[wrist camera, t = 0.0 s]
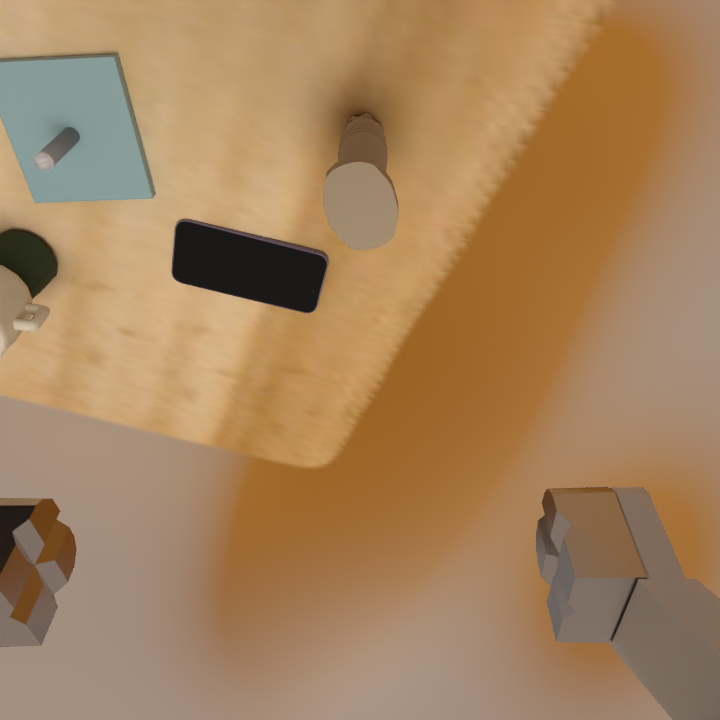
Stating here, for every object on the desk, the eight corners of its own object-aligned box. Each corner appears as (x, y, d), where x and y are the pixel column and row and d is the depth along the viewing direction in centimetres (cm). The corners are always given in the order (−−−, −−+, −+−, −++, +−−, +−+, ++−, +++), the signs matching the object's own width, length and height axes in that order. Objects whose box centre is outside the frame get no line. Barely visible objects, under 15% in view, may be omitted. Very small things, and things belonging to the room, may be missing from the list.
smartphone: (175, 217, 59) (330, 256, 61) (179, 212, 60) (331, 250, 62) (170, 281, 64) (314, 316, 66) (173, 275, 65) (315, 309, 67)
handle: (347, 172, 57) (340, 256, 45) (325, 101, 53) (311, 173, 41) (399, 158, 56) (406, 240, 44) (381, 84, 52) (383, 153, 40)
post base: (-16, 59, 51) (-62, 85, 46) (117, 53, 51) (87, 78, 45) (39, 198, 59) (5, 234, 53) (155, 193, 58) (133, 229, 53)
